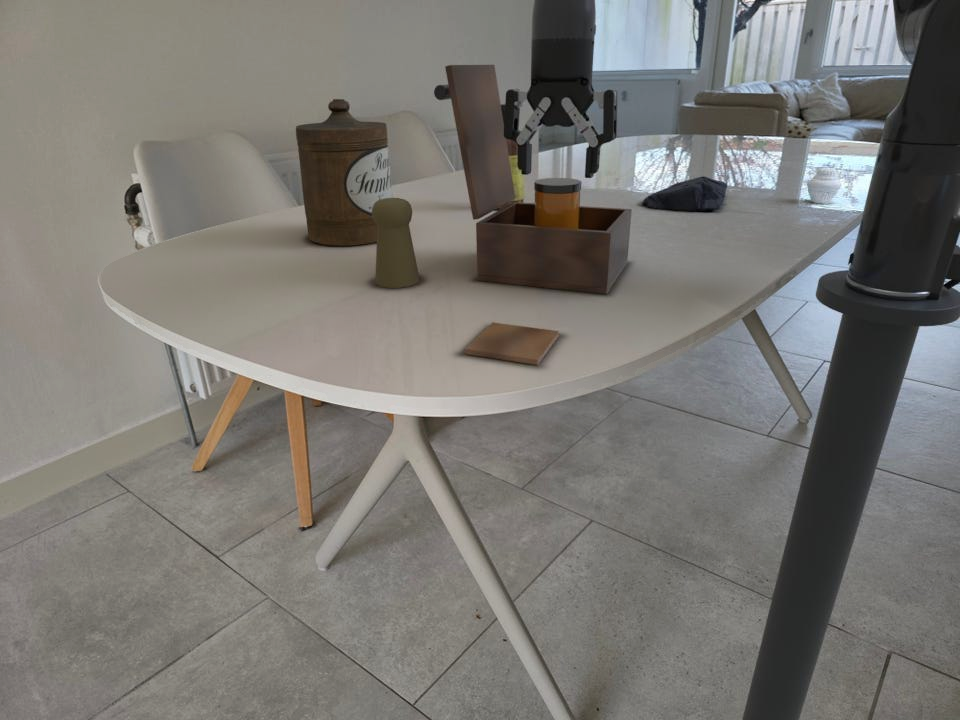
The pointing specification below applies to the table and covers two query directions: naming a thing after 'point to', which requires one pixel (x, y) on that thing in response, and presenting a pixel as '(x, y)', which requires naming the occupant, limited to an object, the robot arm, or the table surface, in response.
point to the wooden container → (343, 176)
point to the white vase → (823, 186)
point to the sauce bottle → (514, 168)
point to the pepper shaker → (394, 244)
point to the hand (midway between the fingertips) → (557, 175)
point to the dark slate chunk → (689, 195)
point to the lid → (480, 135)
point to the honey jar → (557, 202)
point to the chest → (553, 249)
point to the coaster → (513, 343)
